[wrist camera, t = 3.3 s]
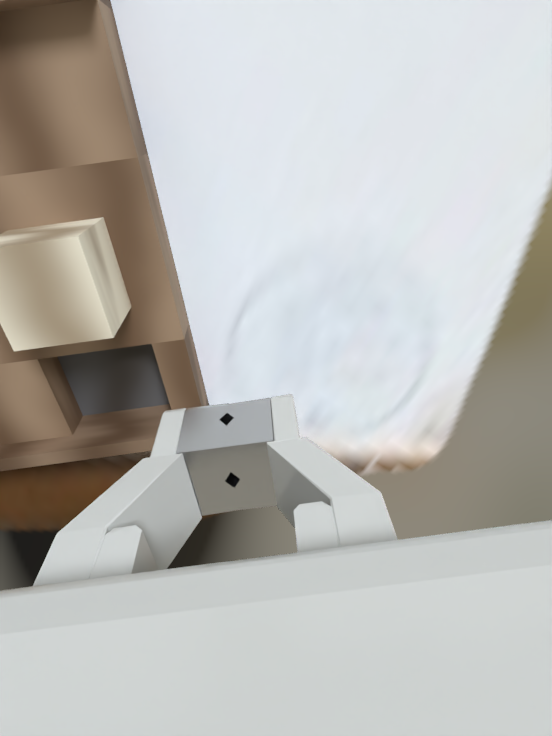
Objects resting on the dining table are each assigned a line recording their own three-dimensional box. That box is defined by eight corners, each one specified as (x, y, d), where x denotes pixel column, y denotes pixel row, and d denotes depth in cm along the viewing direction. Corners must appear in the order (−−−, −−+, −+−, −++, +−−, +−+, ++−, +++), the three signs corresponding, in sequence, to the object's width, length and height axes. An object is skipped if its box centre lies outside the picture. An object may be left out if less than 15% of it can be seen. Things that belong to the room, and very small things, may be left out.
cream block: (45, 318, 25) (13, 351, 21) (7, 230, 22) (-36, 251, 19) (131, 306, 25) (113, 337, 21) (103, 217, 22) (78, 236, 19)
